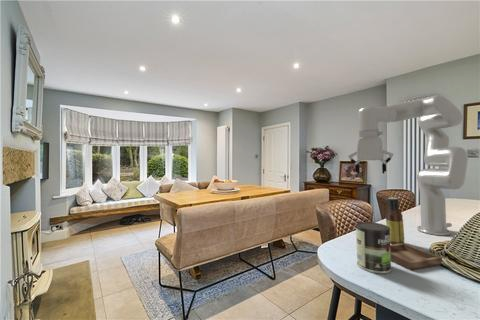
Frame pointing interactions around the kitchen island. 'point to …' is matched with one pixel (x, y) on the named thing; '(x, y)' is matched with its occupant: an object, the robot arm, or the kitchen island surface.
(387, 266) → the coffee can
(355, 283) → the kitchen island surface
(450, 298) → the kitchen island surface
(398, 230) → the sauce bottle
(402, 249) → the tray
